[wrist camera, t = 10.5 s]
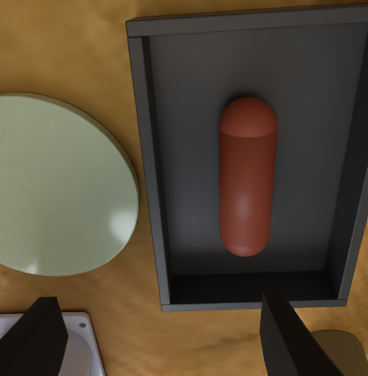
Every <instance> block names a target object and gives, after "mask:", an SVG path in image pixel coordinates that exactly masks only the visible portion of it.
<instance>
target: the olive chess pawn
mask: <svg viewBox="0 0 368 376" xmlns="http://www.w3.org/2000/svg"><path fill="white" fill-rule="evenodd" d="M311 334H312V336H313V337H314V338H315V340H316V341H317V342H318V344H319V345H320V346H321V348H322V349H323V350H324V351H325V353H326V354H327V355H328V356H329V358H330V359H331V360H332V361H333V363H334V364H335V365H336V366H337V367H338V369H339V370H340V371H341V372H342V373H343V374H344V376H368V361H367V358H366V355H365V352H364V349H363V346H362V344H361V342H360V341H359V340H358V339H357V338H356V337H355V336H353V335H351V334H349V333H346V332H342V331H337V330H331V331H320V332H315V333H311Z"/></svg>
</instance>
